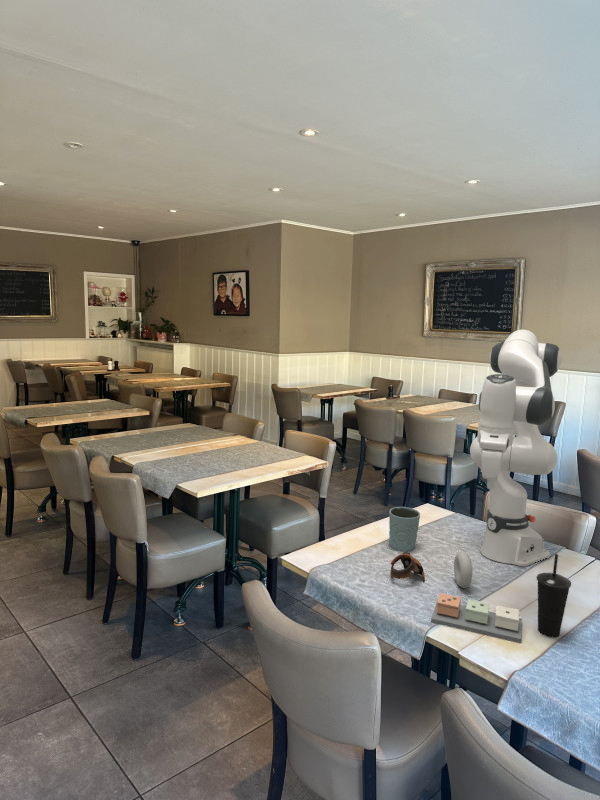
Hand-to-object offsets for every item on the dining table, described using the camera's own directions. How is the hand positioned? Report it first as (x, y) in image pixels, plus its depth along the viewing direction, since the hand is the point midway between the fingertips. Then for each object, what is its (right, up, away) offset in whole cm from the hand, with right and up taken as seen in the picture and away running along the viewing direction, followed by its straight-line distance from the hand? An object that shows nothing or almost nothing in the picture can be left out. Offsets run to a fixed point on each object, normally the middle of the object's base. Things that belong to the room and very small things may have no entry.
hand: (490, 487), depth 148 cm
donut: (-5, -30, +11) cm, 32 cm away
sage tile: (-6, -31, -8) cm, 33 cm away
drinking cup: (+10, -34, -12) cm, 37 cm away
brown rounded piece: (-19, -29, +15) cm, 38 cm away
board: (-6, -33, -8) cm, 34 cm away
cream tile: (0, -32, -11) cm, 34 cm away
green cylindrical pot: (-17, -26, +37) cm, 48 cm away
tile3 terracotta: (-13, -30, -6) cm, 34 cm away
